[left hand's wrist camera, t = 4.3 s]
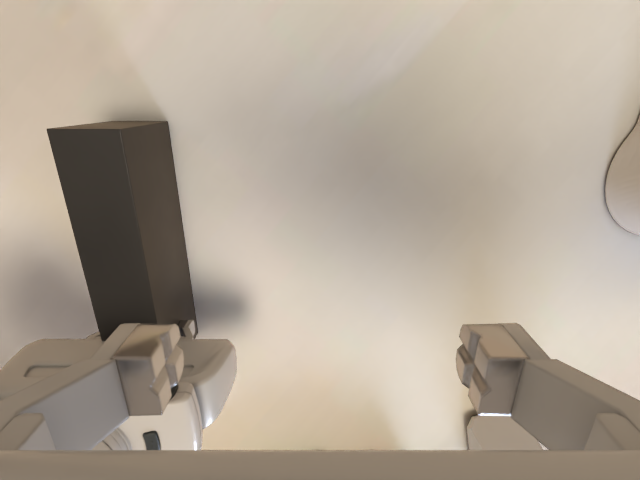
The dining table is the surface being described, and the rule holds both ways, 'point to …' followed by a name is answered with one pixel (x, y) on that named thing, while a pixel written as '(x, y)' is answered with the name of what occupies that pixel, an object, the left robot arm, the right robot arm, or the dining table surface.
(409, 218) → the dining table surface
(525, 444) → the electronic device
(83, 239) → the bar
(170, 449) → the right robot arm
